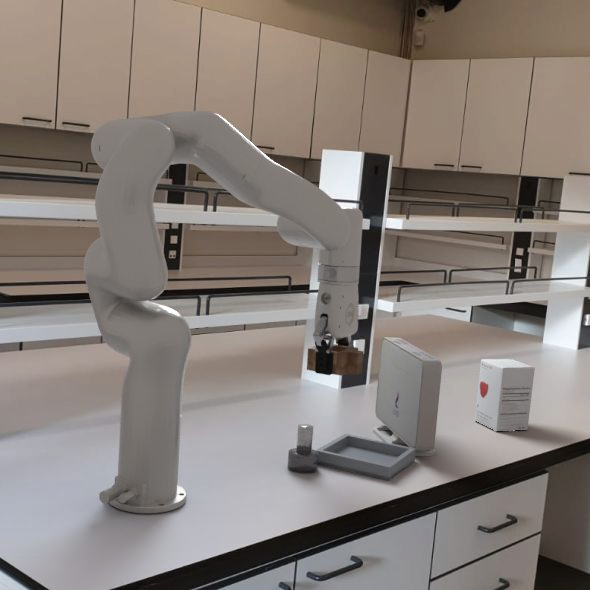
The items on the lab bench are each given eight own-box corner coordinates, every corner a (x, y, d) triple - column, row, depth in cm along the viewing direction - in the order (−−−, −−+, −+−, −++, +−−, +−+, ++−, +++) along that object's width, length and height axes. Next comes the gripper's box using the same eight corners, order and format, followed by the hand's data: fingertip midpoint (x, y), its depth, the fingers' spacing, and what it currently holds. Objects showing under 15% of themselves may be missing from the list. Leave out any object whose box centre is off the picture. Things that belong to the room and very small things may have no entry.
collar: (366, 370, 161) (368, 349, 160) (351, 377, 155) (353, 355, 154) (323, 363, 165) (324, 342, 164) (306, 369, 159) (308, 348, 158)
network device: (364, 423, 193) (372, 335, 191) (401, 424, 195) (409, 336, 193) (404, 461, 168) (413, 361, 166) (446, 461, 171) (455, 362, 168)
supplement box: (473, 421, 202) (479, 358, 200) (505, 420, 205) (511, 358, 203) (495, 432, 194) (502, 367, 192) (528, 431, 197) (536, 366, 195)
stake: (309, 475, 156) (312, 432, 155) (282, 468, 159) (285, 426, 158) (322, 467, 161) (326, 425, 160) (296, 461, 164) (299, 420, 163)
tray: (388, 480, 157) (390, 467, 156) (314, 463, 163) (315, 450, 163) (414, 461, 169) (415, 448, 169) (344, 445, 176) (345, 433, 176)
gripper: (337, 281, 148) (331, 382, 151) (375, 272, 164) (368, 364, 166) (298, 276, 152) (292, 375, 154) (339, 268, 167) (333, 359, 170)
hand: (332, 369), depth 160 cm, fingers closed on collar, 7 cm apart
